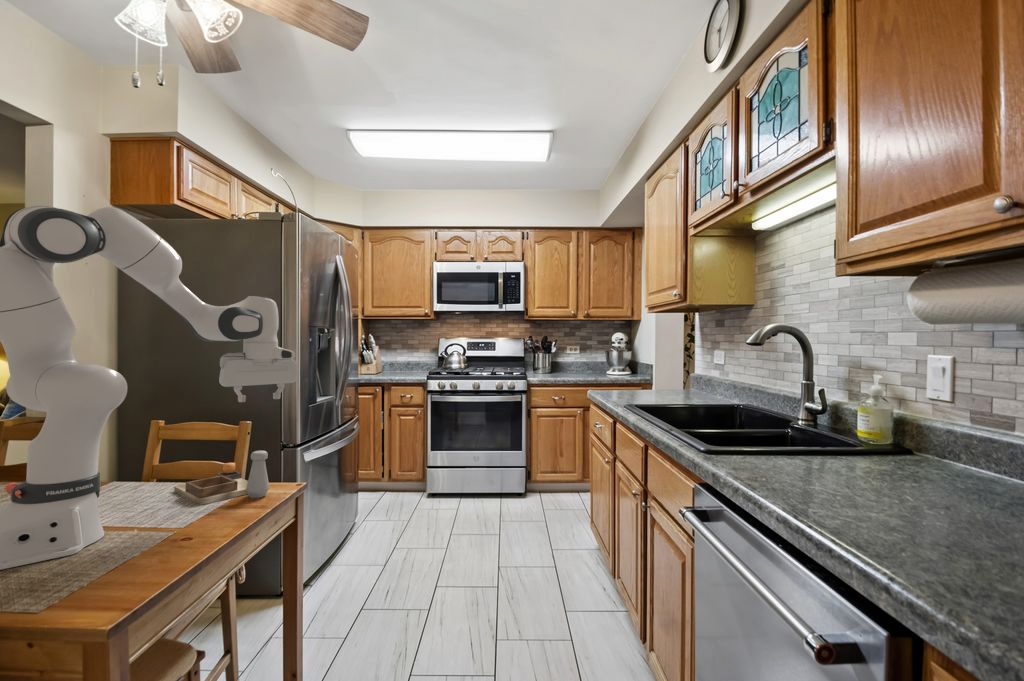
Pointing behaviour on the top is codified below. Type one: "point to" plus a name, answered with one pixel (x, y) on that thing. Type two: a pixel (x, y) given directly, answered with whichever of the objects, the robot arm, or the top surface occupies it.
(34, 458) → the robot arm
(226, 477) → the pallet board
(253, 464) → the salt shaker
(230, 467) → the button
